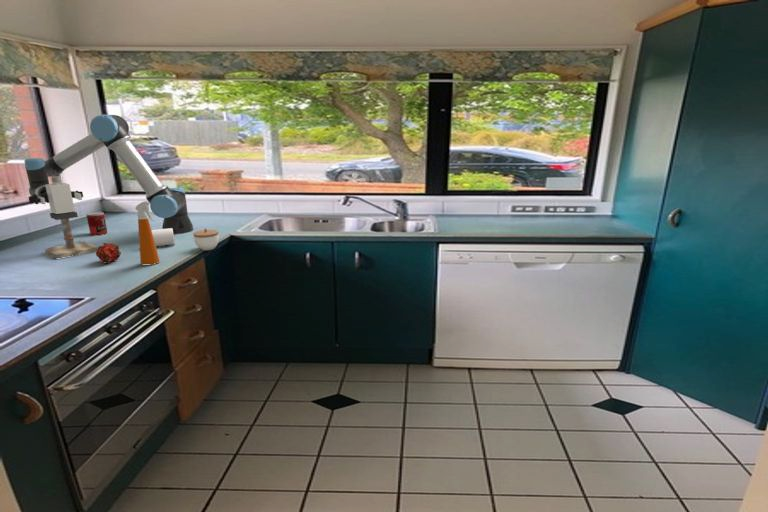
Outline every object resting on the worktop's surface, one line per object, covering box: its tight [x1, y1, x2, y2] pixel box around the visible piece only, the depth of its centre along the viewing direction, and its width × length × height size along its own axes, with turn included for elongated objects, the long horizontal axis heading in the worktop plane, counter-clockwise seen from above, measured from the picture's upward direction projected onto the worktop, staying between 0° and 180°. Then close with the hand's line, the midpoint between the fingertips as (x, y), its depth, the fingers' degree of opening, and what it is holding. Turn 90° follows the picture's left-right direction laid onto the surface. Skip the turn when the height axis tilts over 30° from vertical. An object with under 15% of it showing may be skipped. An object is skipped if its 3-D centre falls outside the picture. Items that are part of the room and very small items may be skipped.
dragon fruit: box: [95, 242, 122, 263], centre depth 187 cm, size 8×8×12 cm
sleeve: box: [45, 182, 76, 214], centre depth 195 cm, size 7×7×12 cm
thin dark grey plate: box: [49, 211, 79, 221], centre depth 197 cm, size 8×8×2 cm
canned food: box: [86, 211, 108, 236], centre depth 233 cm, size 8×8×11 cm
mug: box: [151, 228, 176, 247], centre depth 213 cm, size 12×10×8 cm
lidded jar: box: [193, 228, 220, 251], centre depth 206 cm, size 11×11×9 cm
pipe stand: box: [44, 175, 98, 259], centre depth 197 cm, size 16×16×34 cm
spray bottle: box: [135, 200, 160, 265], centre depth 181 cm, size 7×11×26 cm, turn 58°
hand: (62, 198), depth 193 cm, fingers open, 13 cm apart
